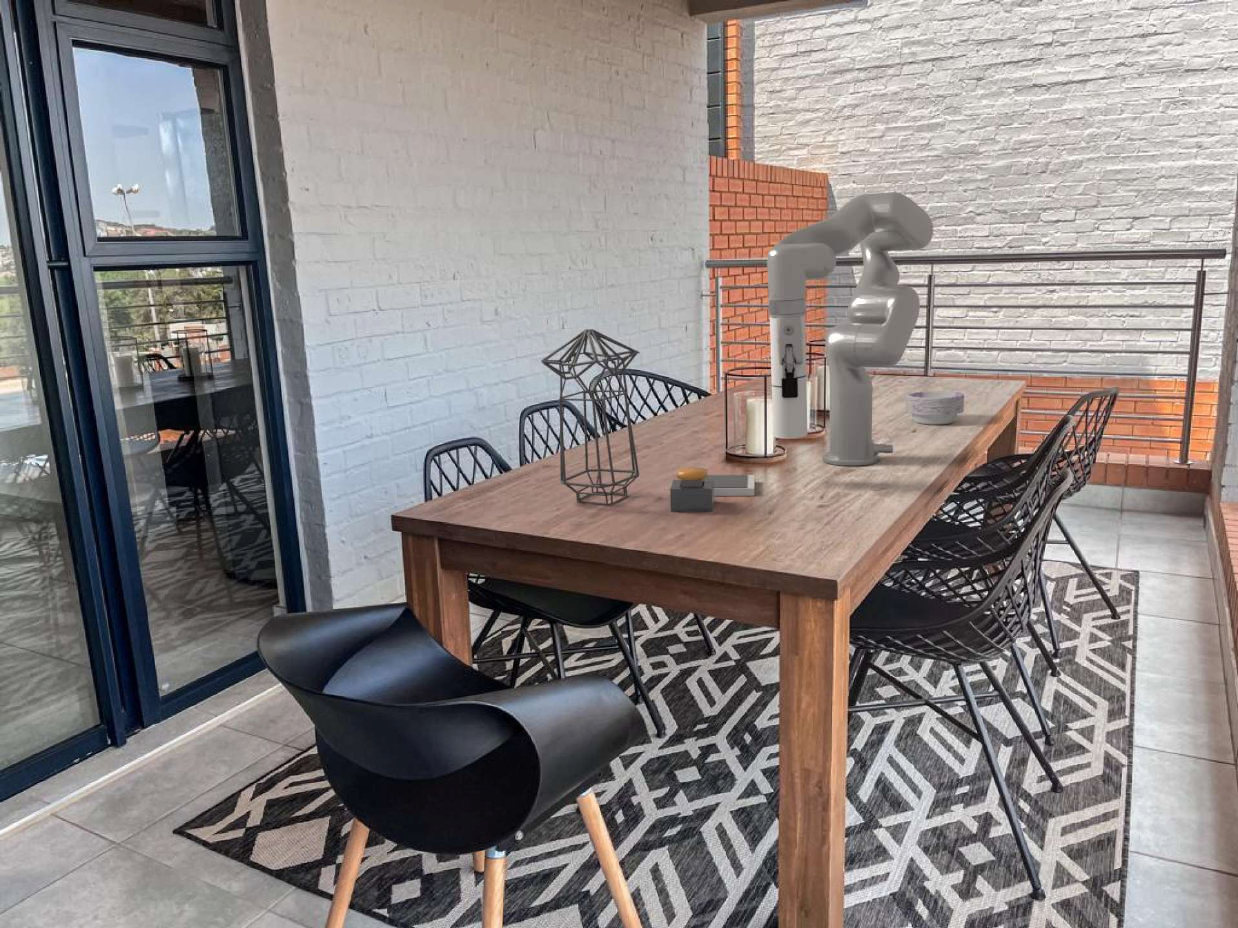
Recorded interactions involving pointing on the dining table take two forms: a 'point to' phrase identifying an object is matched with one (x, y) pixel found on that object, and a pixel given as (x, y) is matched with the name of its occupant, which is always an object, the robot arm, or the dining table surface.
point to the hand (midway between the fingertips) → (789, 393)
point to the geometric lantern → (579, 344)
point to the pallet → (733, 485)
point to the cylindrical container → (788, 410)
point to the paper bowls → (934, 406)
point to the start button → (692, 476)
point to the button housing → (692, 497)
